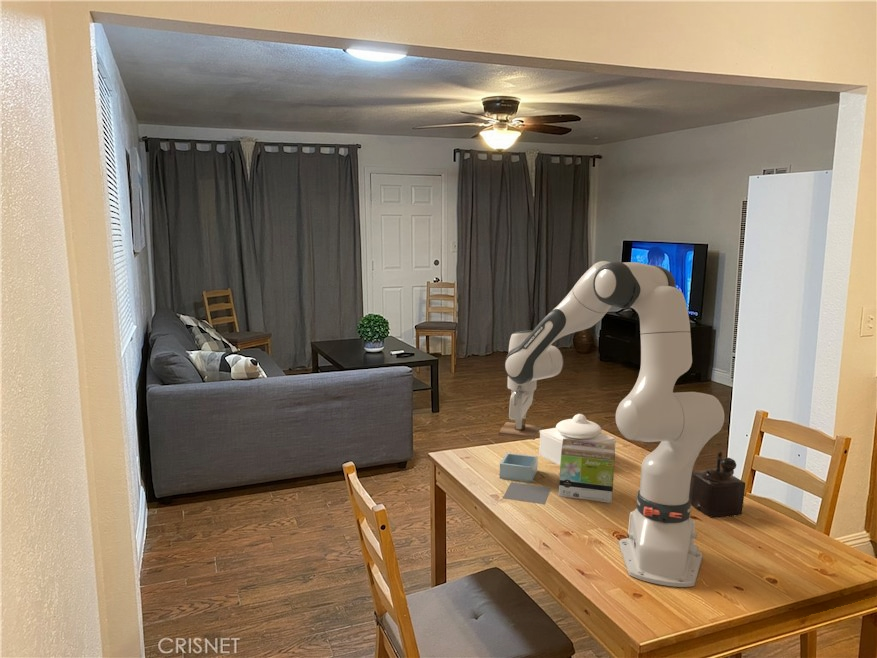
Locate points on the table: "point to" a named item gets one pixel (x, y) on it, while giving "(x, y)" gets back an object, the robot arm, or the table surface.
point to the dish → (518, 467)
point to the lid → (520, 430)
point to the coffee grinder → (717, 490)
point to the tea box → (587, 470)
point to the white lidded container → (570, 436)
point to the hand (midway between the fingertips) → (520, 426)
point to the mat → (527, 493)
